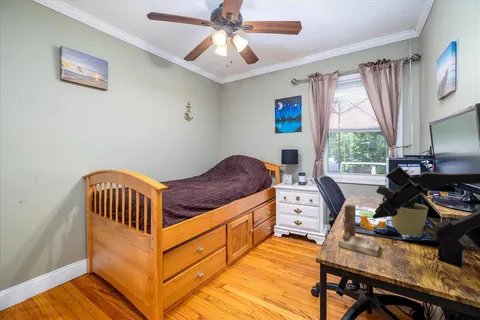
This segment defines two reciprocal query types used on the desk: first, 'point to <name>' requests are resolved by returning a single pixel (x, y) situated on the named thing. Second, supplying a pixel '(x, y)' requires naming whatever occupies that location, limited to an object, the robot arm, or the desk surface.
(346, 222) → the tan upright block
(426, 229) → the eagle figurine
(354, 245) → the pine board
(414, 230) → the potted cactus
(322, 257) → the desk surface
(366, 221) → the pipe clamp
